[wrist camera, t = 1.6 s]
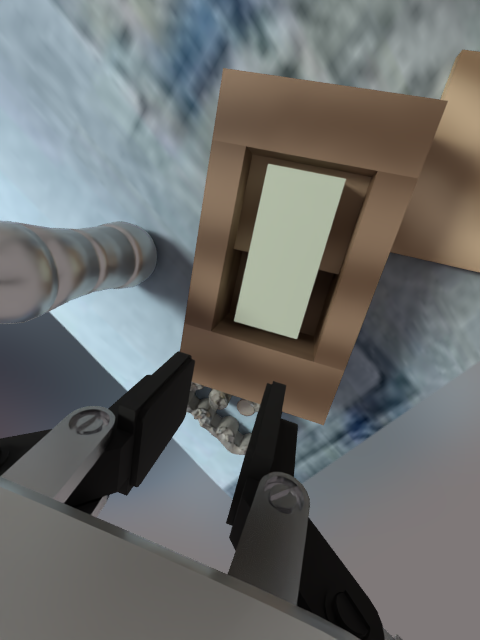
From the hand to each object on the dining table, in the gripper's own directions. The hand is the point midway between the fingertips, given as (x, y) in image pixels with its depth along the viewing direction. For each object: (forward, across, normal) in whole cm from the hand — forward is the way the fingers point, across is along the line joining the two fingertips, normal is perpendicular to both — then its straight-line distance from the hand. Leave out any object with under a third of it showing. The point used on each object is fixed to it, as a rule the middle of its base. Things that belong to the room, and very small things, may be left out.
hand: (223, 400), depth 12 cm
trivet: (+19, -13, -14) cm, 27 cm away
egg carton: (+20, +2, +13) cm, 24 cm away
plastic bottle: (+19, +16, 0) cm, 25 cm away
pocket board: (+19, 0, -4) cm, 20 cm away
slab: (+15, 0, -4) cm, 16 cm away
